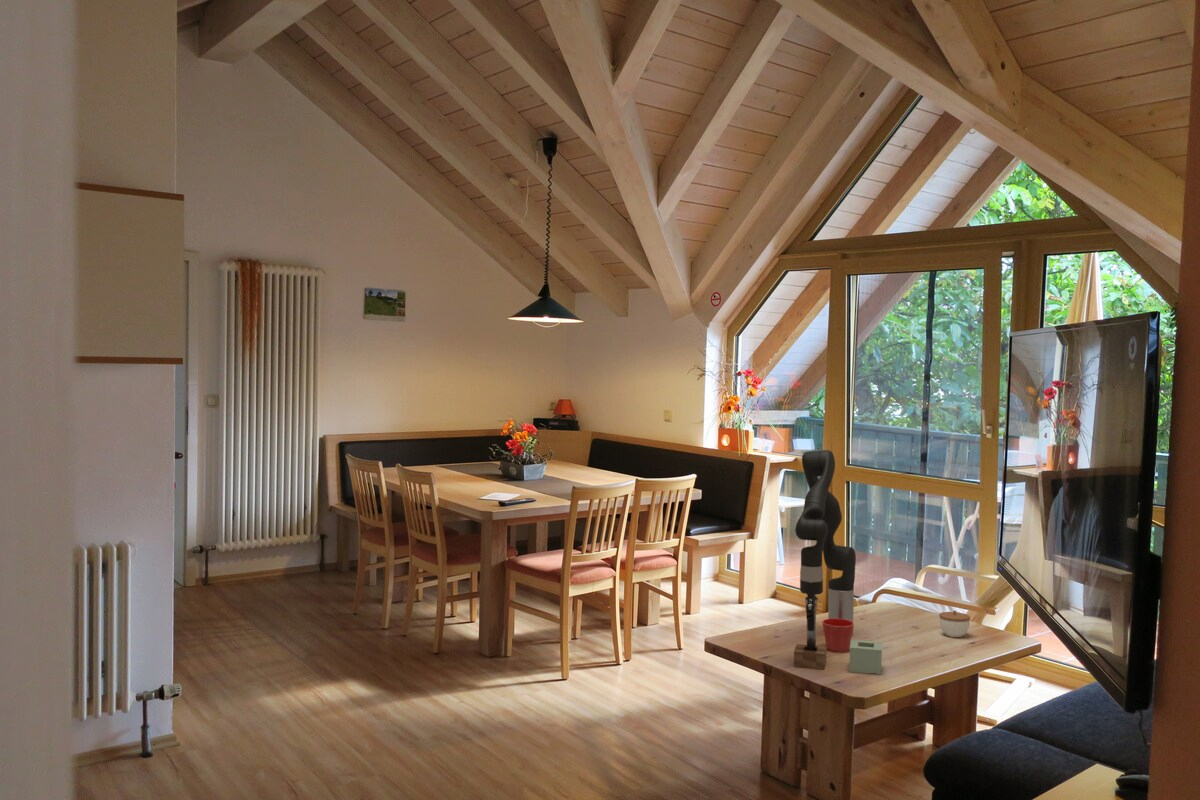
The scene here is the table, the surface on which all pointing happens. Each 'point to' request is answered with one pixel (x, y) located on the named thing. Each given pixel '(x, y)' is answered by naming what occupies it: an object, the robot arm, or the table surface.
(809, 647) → the pin
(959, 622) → the lidded jar
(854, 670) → the block
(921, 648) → the table surface
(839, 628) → the flower pot
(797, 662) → the mount
